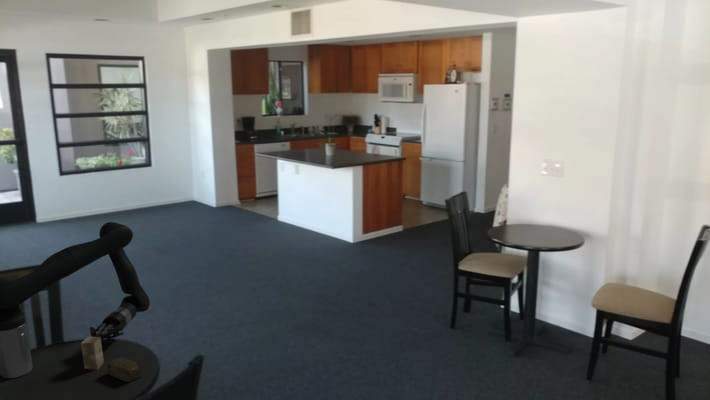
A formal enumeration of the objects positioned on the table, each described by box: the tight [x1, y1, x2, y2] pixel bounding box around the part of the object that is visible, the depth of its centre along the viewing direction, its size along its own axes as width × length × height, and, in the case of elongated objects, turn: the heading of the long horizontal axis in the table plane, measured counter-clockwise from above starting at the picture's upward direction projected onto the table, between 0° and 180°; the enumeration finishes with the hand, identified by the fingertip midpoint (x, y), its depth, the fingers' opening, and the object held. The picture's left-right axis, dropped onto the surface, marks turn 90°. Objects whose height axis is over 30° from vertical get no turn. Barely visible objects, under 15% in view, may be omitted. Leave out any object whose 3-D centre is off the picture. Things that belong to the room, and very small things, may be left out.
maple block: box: [80, 336, 105, 371], centre depth 192 cm, size 4×4×10 cm
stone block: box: [107, 356, 143, 383], centre depth 186 cm, size 6×12×5 cm, turn 59°
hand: (94, 342), depth 194 cm, fingers closed
